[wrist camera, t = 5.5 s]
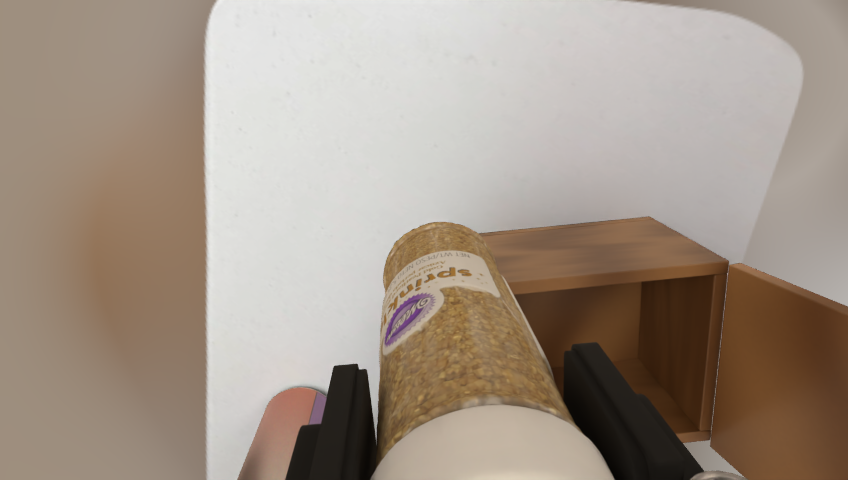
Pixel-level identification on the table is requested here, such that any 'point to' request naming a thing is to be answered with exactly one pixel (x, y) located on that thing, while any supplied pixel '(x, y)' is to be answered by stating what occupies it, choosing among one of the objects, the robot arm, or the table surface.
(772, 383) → the wooden box lid
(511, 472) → the sprinkles bottle
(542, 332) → the brown wooden open box
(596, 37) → the table surface
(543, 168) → the table surface
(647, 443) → the robot arm
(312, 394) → the beverage can
